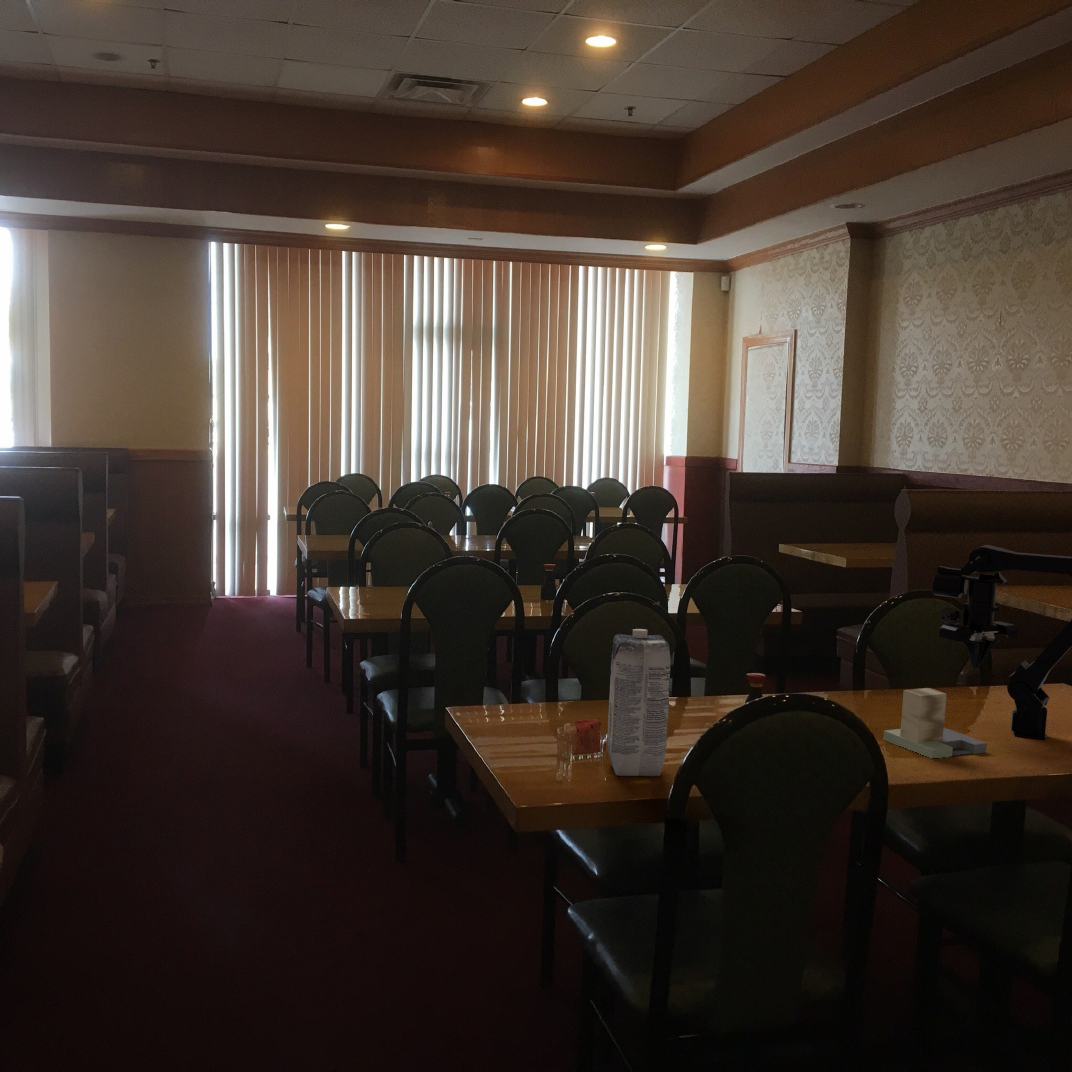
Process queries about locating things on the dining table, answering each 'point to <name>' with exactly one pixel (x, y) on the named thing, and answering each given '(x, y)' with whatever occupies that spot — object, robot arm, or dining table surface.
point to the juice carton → (638, 704)
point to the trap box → (939, 744)
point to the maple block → (923, 715)
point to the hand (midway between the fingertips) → (975, 668)
